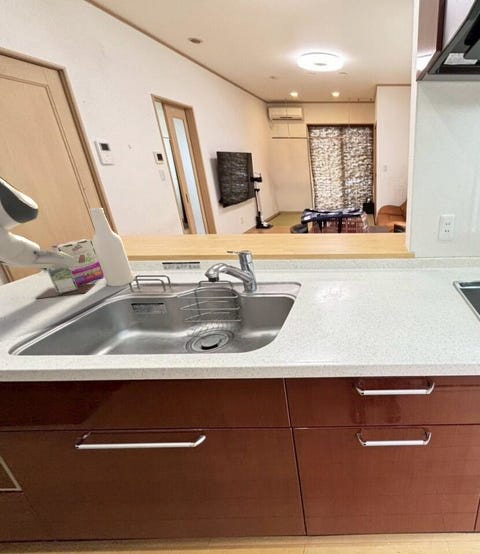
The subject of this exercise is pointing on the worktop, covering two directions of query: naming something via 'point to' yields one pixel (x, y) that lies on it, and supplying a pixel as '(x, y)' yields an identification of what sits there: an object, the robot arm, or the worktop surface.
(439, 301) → the worktop surface
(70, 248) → the candy bar box
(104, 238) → the alcohol
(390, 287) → the worktop surface
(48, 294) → the board
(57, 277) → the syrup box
